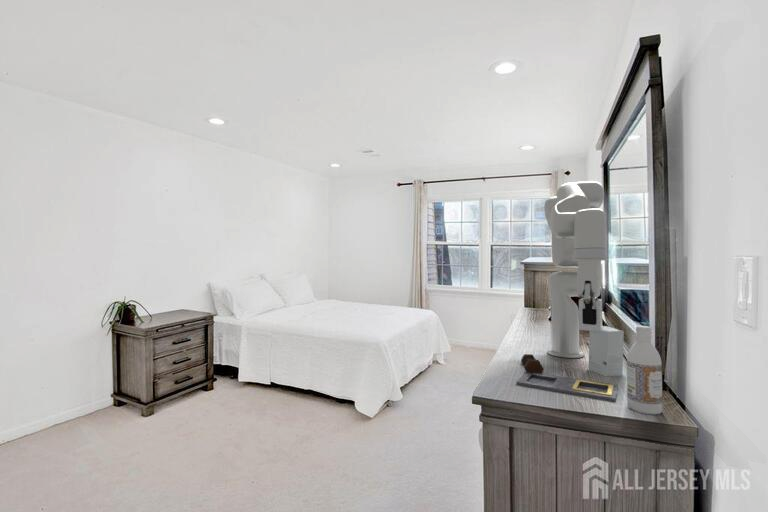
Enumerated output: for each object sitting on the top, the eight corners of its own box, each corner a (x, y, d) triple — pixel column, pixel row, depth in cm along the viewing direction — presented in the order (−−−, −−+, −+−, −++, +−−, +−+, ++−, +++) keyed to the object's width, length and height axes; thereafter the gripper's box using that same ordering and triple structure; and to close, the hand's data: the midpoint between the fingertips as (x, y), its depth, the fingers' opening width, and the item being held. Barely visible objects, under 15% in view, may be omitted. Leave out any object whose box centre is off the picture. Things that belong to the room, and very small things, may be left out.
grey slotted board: (527, 377, 119) (527, 370, 119) (618, 391, 105) (618, 384, 105) (516, 388, 109) (516, 381, 109) (615, 405, 95) (615, 397, 95)
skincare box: (587, 372, 123) (587, 325, 123) (604, 371, 124) (604, 325, 124) (607, 380, 115) (606, 330, 115) (625, 379, 116) (624, 329, 116)
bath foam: (645, 416, 88) (644, 329, 89) (620, 405, 95) (619, 324, 95) (669, 413, 90) (668, 328, 90) (643, 403, 97) (642, 323, 97)
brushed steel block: (581, 326, 107) (581, 297, 107) (602, 328, 104) (601, 298, 104) (579, 329, 103) (578, 298, 103) (600, 331, 100) (600, 299, 100)
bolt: (529, 369, 134) (536, 381, 119) (516, 361, 135) (521, 372, 120) (537, 355, 133) (546, 365, 119) (524, 347, 134) (531, 356, 120)
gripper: (579, 255, 113) (579, 317, 113) (569, 255, 99) (570, 326, 99) (608, 255, 109) (609, 319, 108) (602, 254, 95) (603, 328, 94)
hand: (590, 322), depth 104 cm, fingers closed on brushed steel block, 5 cm apart
